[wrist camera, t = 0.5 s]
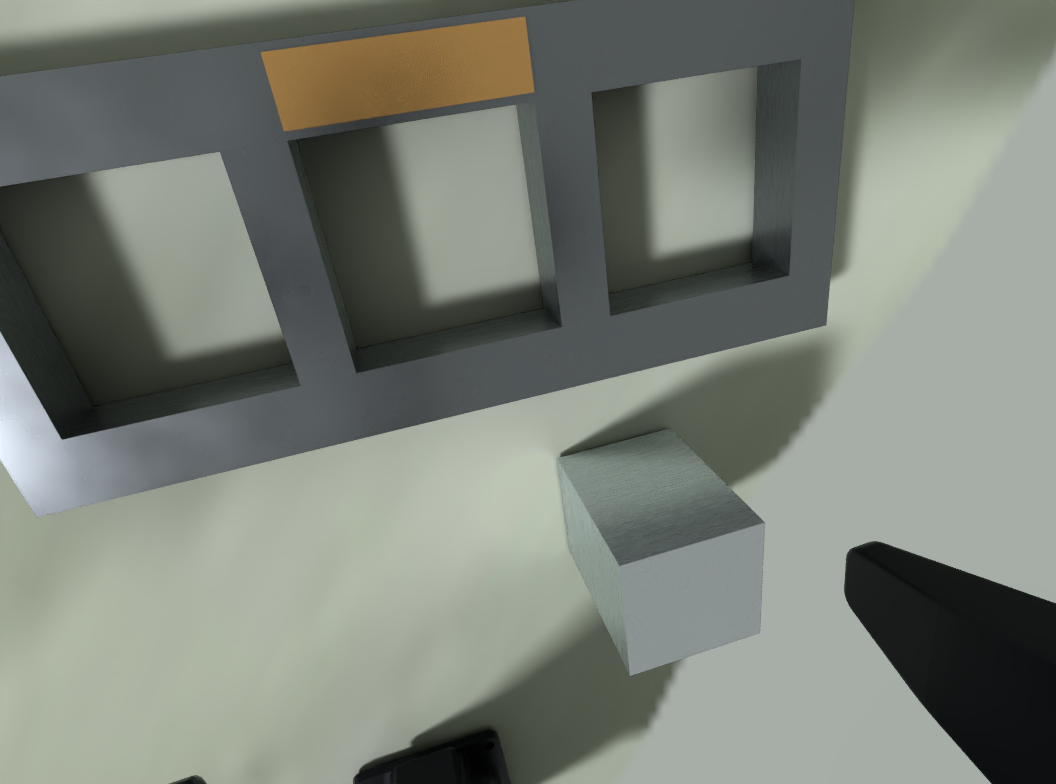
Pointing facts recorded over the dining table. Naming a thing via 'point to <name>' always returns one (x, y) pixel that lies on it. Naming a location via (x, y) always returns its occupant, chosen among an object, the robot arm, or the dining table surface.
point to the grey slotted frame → (302, 255)
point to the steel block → (662, 548)
